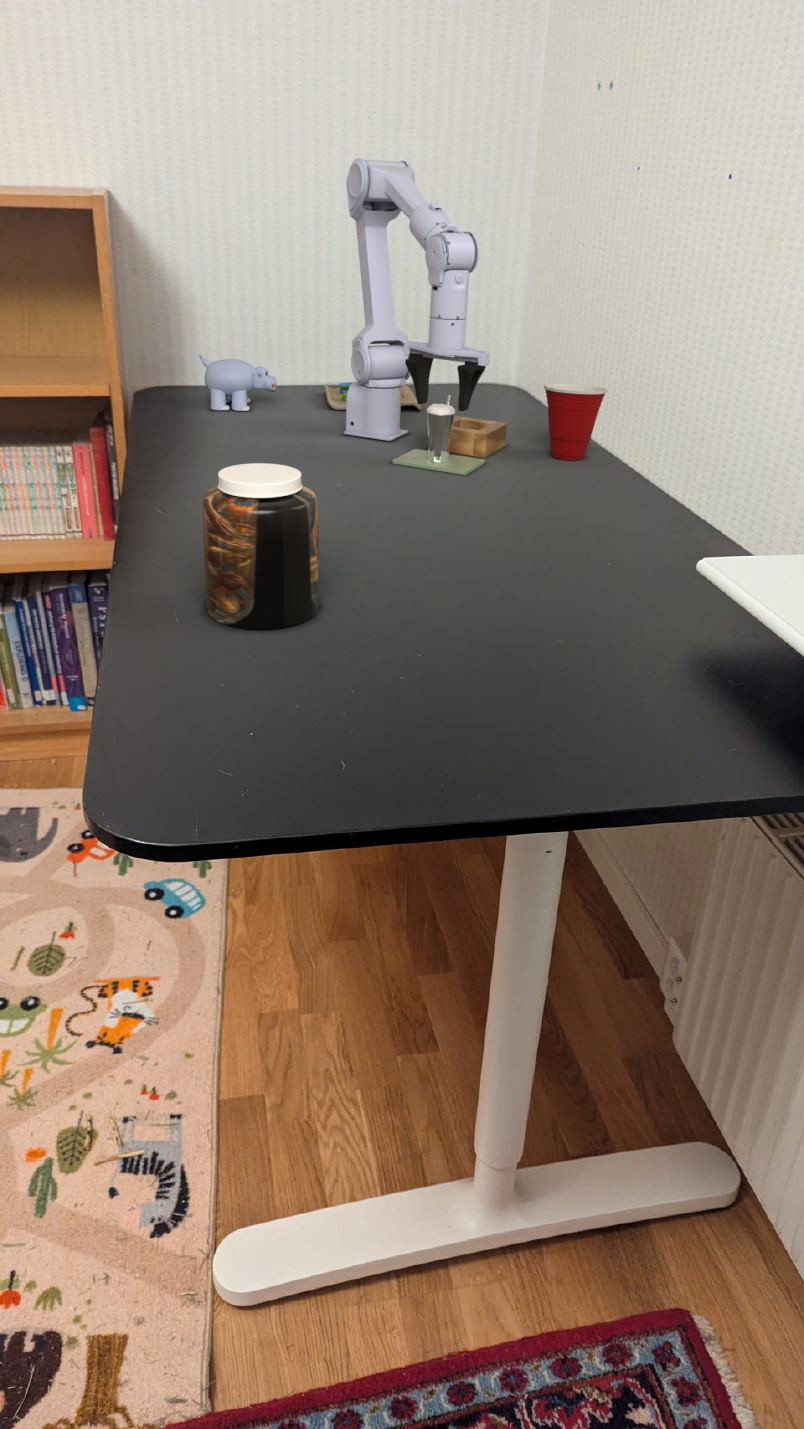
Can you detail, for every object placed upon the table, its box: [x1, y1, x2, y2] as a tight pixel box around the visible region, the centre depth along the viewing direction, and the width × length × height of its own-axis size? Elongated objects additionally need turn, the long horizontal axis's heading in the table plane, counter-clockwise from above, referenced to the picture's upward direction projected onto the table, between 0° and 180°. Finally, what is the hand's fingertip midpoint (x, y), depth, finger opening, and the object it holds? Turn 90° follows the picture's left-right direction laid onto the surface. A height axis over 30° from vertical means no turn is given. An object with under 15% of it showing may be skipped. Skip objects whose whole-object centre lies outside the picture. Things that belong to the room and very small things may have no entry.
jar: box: [202, 462, 320, 630], centre depth 107 cm, size 12×12×15 cm
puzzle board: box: [323, 381, 422, 411], centre depth 209 cm, size 18×19×4 cm
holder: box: [449, 415, 508, 459], centre depth 178 cm, size 10×10×4 cm
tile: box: [392, 448, 486, 476], centre depth 169 cm, size 13×9×1 cm
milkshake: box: [426, 394, 456, 463], centre depth 166 cm, size 4×5×10 cm
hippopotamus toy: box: [198, 354, 278, 412], centre depth 199 cm, size 11×15×10 cm
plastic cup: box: [543, 383, 609, 461], centre depth 174 cm, size 11×11×12 cm
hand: (442, 406), depth 164 cm, fingers open, 7 cm apart
